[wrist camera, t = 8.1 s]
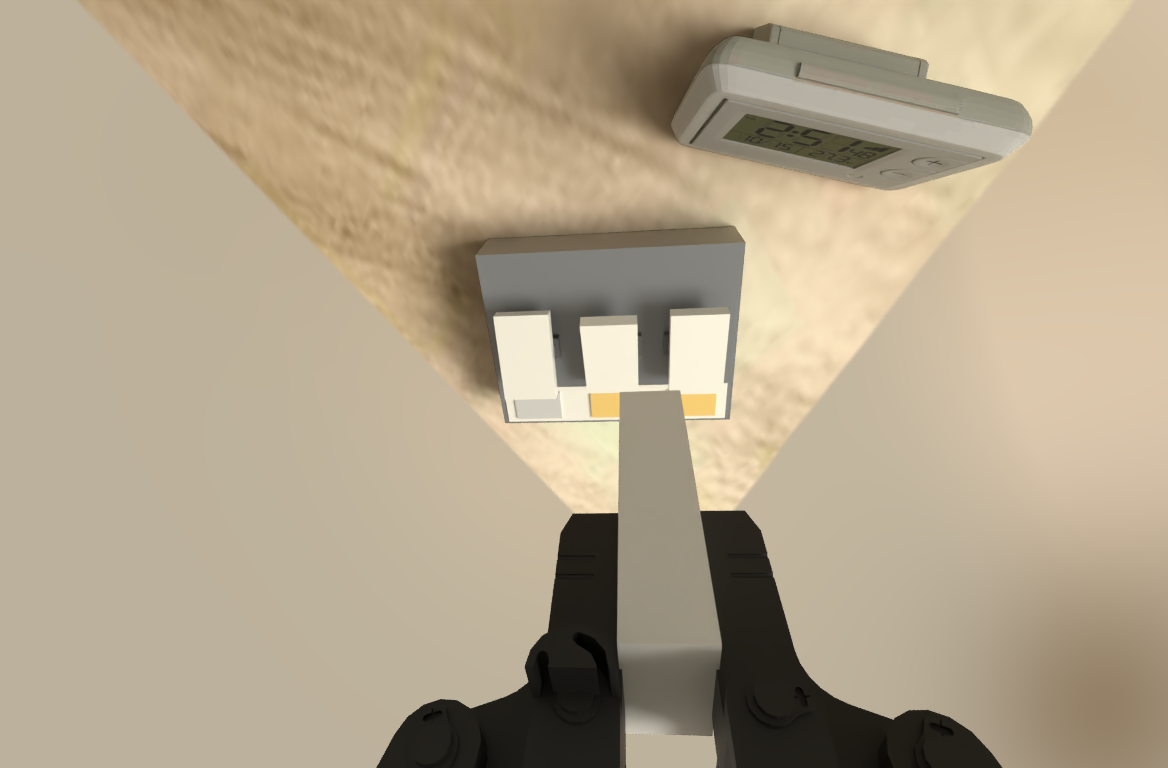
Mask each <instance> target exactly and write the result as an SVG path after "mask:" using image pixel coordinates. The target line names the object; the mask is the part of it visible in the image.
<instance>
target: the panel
mask: <svg viewBox="0 0 1168 768" xmlns="http://www.w3.org/2000/svg"><path fill="white" fill-rule="evenodd" d="M744 253H745V241H744V240H743V238H742V237H741V235H740V234H739V232H738V231H737V229H736V228H735V226H732V227H713V228H693V229H674V230H655V231H635V232H616V233H596V234H577V235H558V236H538V237H519V238H500V239H488V240H487V241H486V243H485V244H484V245H483V246H482V247H481V249H480V250H479V251H478V252H477V254H476V255H475V258H476V264H477V269H478V275H479V280H480V286H481V291H482V297H483V303H484V308H485V314H486V319H487V325H488V330H489V336H490V341H491V347H492V352H493V358H494V363H495V369H496V375H497V380H498V386H499V391H500V397H501V402H502V408H503V413H504V419H505V423H543V422H602V421H619V406H620V393H588V394H587V386H586V377H585V369H584V360H583V351H582V343H581V334H580V317H597V316H625V315H637V328H638V391H666V390H669V389H668V373H669V351H668V344H669V328H670V309H688V308H715V307H728V309H729V312H730V322H729V332H728V343H727V353H726V363H725V374H724V384H723V394H681V398H682V404H683V411H684V417H685V420H720V419H730V409H731V398H732V387H733V375H734V364H735V353H736V342H737V331H738V320H739V308H740V297H741V286H742V275H743V264H744ZM545 310H550V315H551V326H552V337H553V346H555V369H556V380H557V390H558V394H557V397H556V399H530V400H505V397H504V389H503V382H502V375H501V368H500V361H499V354H498V347H497V340H496V333H495V326H494V319H493V316H494V315H495V314H496V312H518V311H545Z"/></svg>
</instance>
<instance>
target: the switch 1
mask: <svg viewBox="0 0 1168 768" xmlns="http://www.w3.org/2000/svg"><path fill="white" fill-rule="evenodd" d="M493 319H494V326H495V333H496V340H497V347H498V354H499V361H500V368H501V375H502V382H503V389H504V397H505V400H530V399H556V397H557V394H558V390H557V380H556V369H555V346H553V337H552V326H551V315H550V310H545V311H518V312H496V314H495V315H494V316H493Z"/></svg>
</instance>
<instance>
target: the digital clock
mask: <svg viewBox="0 0 1168 768" xmlns="http://www.w3.org/2000/svg"><path fill="white" fill-rule="evenodd" d="M928 65H929V64H928V63H927V61H926V60H923V59H920V58H915V57H911V56H906V55H902V54H898V53H894V52H889V51H885V50H881V49H877V48H872V47H868V46H864V45H860V44H855V43H851V42H847V41H843V40H838V39H834V38H830V37H826V36H821V35H817V34H813V33H809V32H804V31H800V30H796V29H792V28H787V27H783V26H779V25H775V24H766V25H763V26H760V27H757V28H756V29H755V31H754V33H753V36H752V39H751V38H747V37H741V36H731V37H728V38H725V39H724V40H723V41H721V42H720V43H719V44H717V45H716V46H715V47H714V48H713V49H712V50H711V51H710V53H709V54H708V55H707V57H706V58H705V60H704V61H703V63H702V65H701V67H700V68H699V70H698V72H697V74H696V76H695V78H694V79H693V81H692V83H691V85H690V87H689V88H688V90H687V92H686V94H685V96H684V98H683V99H682V101H681V103H680V105H679V107H678V108H677V110H676V112H675V114H674V116H673V119H672V123H671V127H672V130H673V132H674V134H675V136H676V138H677V140H678V142H679V143H680V144H682V145H685V146H688V147H693V148H697V149H701V150H705V151H710V152H714V153H718V154H723V155H727V156H732V157H736V158H741V159H745V160H750V161H754V162H759V163H763V164H768V165H772V166H777V167H781V168H786V169H790V170H794V171H799V172H803V173H808V174H812V175H817V176H821V177H826V178H830V179H835V180H839V181H844V182H848V183H853V184H857V185H862V186H867V187H871V188H876V189H881V190H899V189H903V188H907V187H910V186H914V185H917V184H921V183H924V182H928V181H931V180H935V179H938V178H942V177H945V176H949V175H952V174H956V173H959V172H963V171H966V170H970V169H974V168H977V167H981V166H984V165H987V164H991V163H994V162H997V161H1000V160H1002V159H1004V158H1005V157H1007V156H1008V155H1009V154H1011V153H1012V152H1014V151H1015V150H1017V149H1018V148H1019V147H1021V146H1022V145H1023V144H1025V143H1026V142H1027V141H1028V140H1029V139H1030V135H1031V133H1032V119H1031V117H1030V115H1029V113H1028V111H1027V110H1026V109H1025V108H1024V106H1023V105H1022V104H1021V103H1019V102H1017V101H1015V100H1012V99H1008V98H1004V97H1000V96H996V95H992V94H988V93H984V92H980V91H976V90H972V89H967V88H963V87H959V86H955V85H950V84H946V83H942V82H937V81H933V80H929V79H926V76H927V72H928Z"/></svg>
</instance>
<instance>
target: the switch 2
mask: <svg viewBox="0 0 1168 768" xmlns="http://www.w3.org/2000/svg"><path fill="white" fill-rule="evenodd" d="M580 334H581V343H582V351H583V360H584V369H585V377H586V386H587V394H588V393H620V392H636V391H638V328H637V315H625V316H597V317H580Z"/></svg>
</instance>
